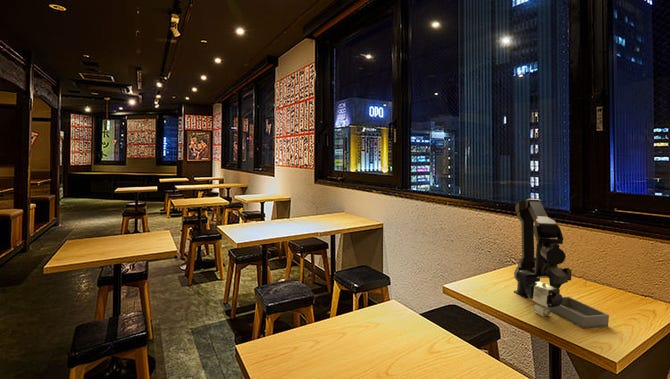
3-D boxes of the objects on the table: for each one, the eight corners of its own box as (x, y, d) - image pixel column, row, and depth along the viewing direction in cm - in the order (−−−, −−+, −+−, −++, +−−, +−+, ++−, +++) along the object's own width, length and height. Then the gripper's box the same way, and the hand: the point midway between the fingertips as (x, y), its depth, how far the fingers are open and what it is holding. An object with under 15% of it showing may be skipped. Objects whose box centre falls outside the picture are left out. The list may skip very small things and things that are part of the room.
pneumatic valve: (533, 307, 132) (534, 276, 131) (561, 320, 121) (564, 287, 120) (521, 308, 130) (523, 278, 129) (550, 322, 119) (552, 289, 118)
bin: (545, 308, 131) (545, 298, 131) (567, 306, 133) (568, 296, 132) (582, 328, 115) (583, 317, 115) (608, 326, 117) (609, 315, 117)
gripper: (539, 264, 114) (536, 309, 115) (586, 262, 117) (583, 305, 119) (516, 255, 125) (513, 296, 126) (559, 253, 128) (557, 293, 130)
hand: (542, 298), depth 125 cm, fingers open, 9 cm apart
